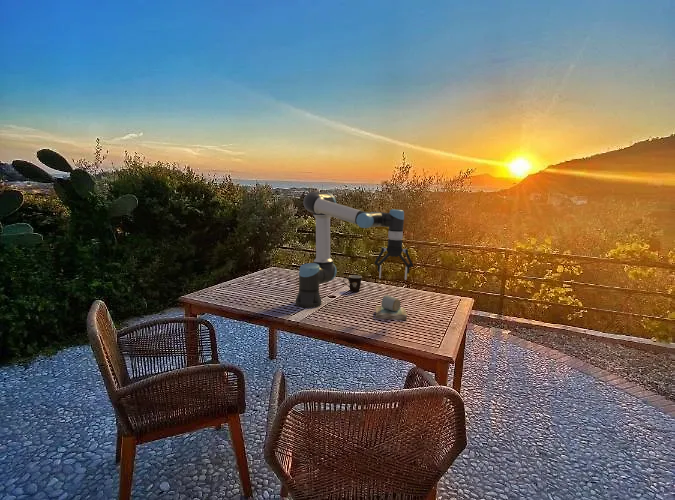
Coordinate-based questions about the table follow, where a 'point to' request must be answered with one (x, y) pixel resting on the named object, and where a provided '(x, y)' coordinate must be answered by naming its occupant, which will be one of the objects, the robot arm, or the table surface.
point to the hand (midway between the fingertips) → (392, 278)
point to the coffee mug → (354, 283)
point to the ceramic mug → (390, 303)
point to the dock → (391, 313)
